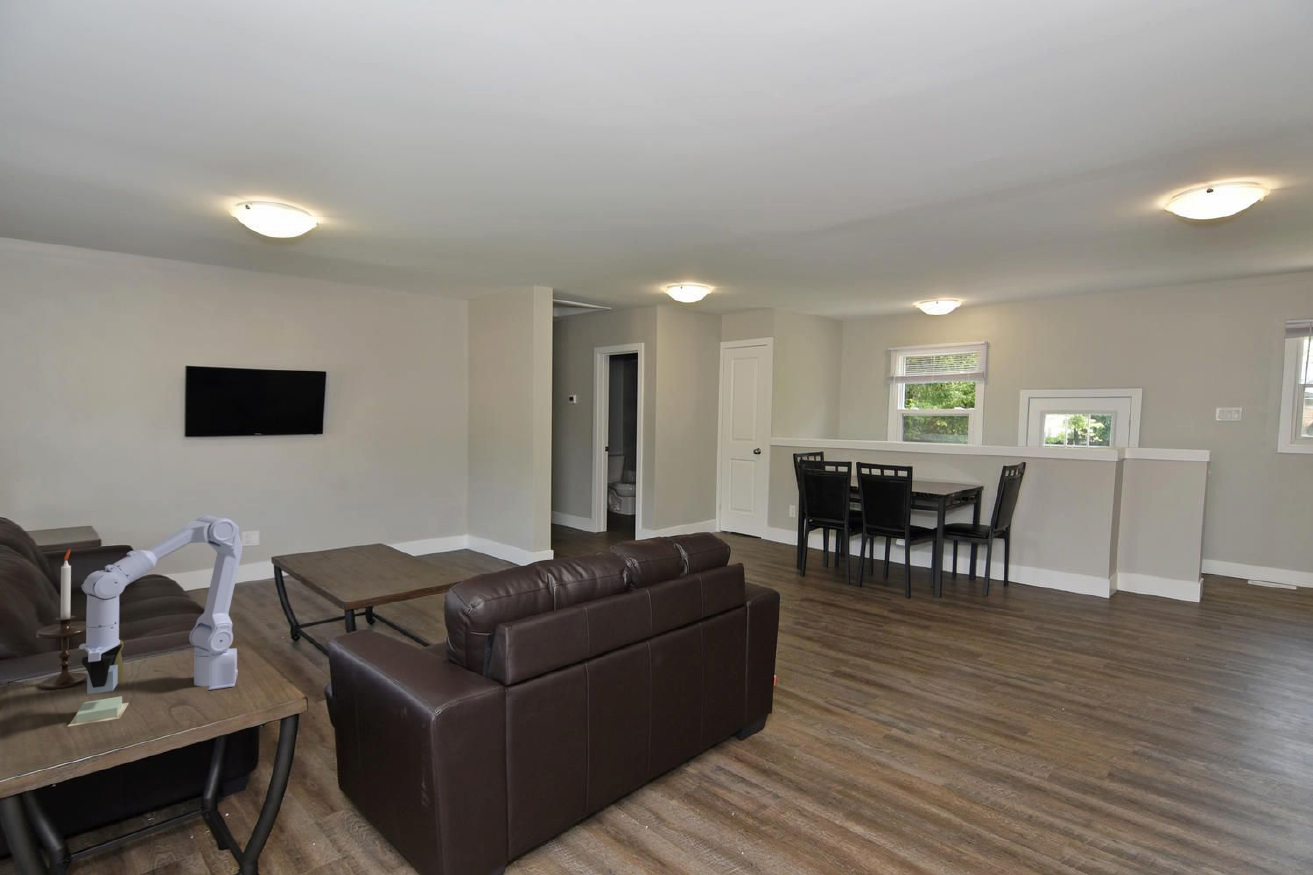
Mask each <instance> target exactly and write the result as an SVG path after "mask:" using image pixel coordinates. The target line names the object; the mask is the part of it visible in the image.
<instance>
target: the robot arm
mask: <svg viewBox="0 0 1313 875" xmlns="http://www.w3.org/2000/svg"><path fill="white" fill-rule="evenodd" d="M239 531H240V527H239V526H238V525H237V524H236V523H235V522H234V521H233V520H232V519H229V518H225V517H224V518H222V517H217V516H212V515H209V514H207V515H201V516H199V517H197V518H196V519H195V520H192V521H189V522H188V523H186V524H185V526H183V527H182V528H180V529H178V530H177V531H175V532H174V533H173V534H171V535H169V536H167V537H166V538H164V539H163V540H161V541H159V542H158V543H157V544H155V545H153V546H152V547H150V548H148V549H147V550H144V549H137V550H136V551H135V550H130V551H128V552H127V553H126V556H125V557H123V558H122V559H120V560H118V561H116V562H114V563H113V564H107V565H105V566H104V570H96V571H93V572H92V573H90V574H88V576H86V579H84V581H83V584H81V590H82V591H83V592H84V594H86V617H85V618H86V619H85V620H86V621H85V622H86V633H85V634H86V638H85V639H86V640H85V641H86V642H85V643H80V645H78V649H79V650H85V651H86V653H87V655H88V656H83V657H82V658H81V664H82V665H83V666H84V668H85V669H86V671H87V674H88V673H89V676H90V680H91V684H92V686H93V688H96V687H103V686H105V684H106V682H107V677H108V672H109V668H110V666H111V665H114V664H115V660H116V657H117V655H118V653H119V651H120V649H121V647H122V644H120V640H121V639H120V595H121V594H122V593H123V592H124V591H125V588H126V586H128V585H130V584H131V583H133V582H135V581H136V580H138V579H140V578H141V577H143V576H145V575H146V574H148V573H149V572H151V571H152V570H155V568H156V565H157V562H158V561H159V560H162V559H163V558H165V557H167V556H169V555H171V554H173V553H174V552H176V551H178V550H180V549H182V548H184V547H186V546H187V545H189V544H196V543H197V544H198V543H200V544H201V543H207V544H209V546H210V547H211V548H212V549H213V550H214V551H216V558H215V561H214V562H215V563H214V566H213V570H212V575H211V580H210V585H209V587H208V594H207V597H206V598H207V599H206V603H205V607H204V611H203V613H202V614H201V615H200V616H198V618H197V620H196V623H195V626H194V627H193V629H191V631H190V633H189V636H188V637H189V642H190V644H191V645H192V646H194V652H193V653H194V655H193V657H194V658H193V659H194V660H193V662H194V663H193V684H194V686H196V687H208V691H210V690H212V691H213V690H218V689H225V688H230V687H235V685H236V681H237V677H238V673H239V670H238V649H237V648H236V647H235V648H233V647H232V648H230V647H231V645H232V644H233V640H234V633H233V622H232V619H231V617H230V615H229V612H230V609H231V608H230V607H231V604H232V599H233V594H234V590H235V584H236V581H237V575H238V573H239V567H240V562H241V557H242V552H243V549H244V548H243V547H244V546H243V543H242V540H241V537H240V534H239ZM119 639H120V640H119Z"/></svg>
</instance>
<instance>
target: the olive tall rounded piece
mask: <svg viewBox="0 0 1313 875" xmlns="http://www.w3.org/2000/svg"><path fill="white" fill-rule="evenodd" d="M119 640H120V644H122V647H121V649H120V651H119V653H118V655H117V657H116V660H115V664H114V665H118V684H120V683H123V682H124V681H125V680H126V676H125V669H124V663H123V657H122V651H123V649H124V644H125V643H124V642H123V640H122V639H120V638H119Z"/></svg>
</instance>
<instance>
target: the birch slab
mask: <svg viewBox="0 0 1313 875" xmlns="http://www.w3.org/2000/svg"><path fill="white" fill-rule="evenodd" d="M129 704H130V703H129V702H124V703H123V702H122V706H121V708H120V710H119V713H118V715H117V716H116V717H111V718H105V719H99V720H94V721H88V722H82V723H76V715H75V716H74V717H73V719H72V720H71V721H70V723H69V724H68V725H67V727H72V726H79V725H87V724H91V723H92V724H94V723H99V722H104V721H105V722H106V721H111V720H112V721H113V720H118V719H121V717H122V716H123V714H124V712H125V711H126V708H128V705H129Z"/></svg>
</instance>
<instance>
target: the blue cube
mask: <svg viewBox="0 0 1313 875" xmlns="http://www.w3.org/2000/svg"><path fill="white" fill-rule="evenodd" d="M86 674H87V681H86V682H87V683H86V684H87V685H86V692H87V693H86V695H93V694H97V693H98V694H101V693H108V692H113V691H114V690H115V688H116V687H117V685H118V684H119V683H118V665H111V666H110V668H109V672H108V677H107V682H106V684H105V686H103V687H96V688H93V686H92V684H91V680H90V676H89V673H88V672H87V673H86Z"/></svg>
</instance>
